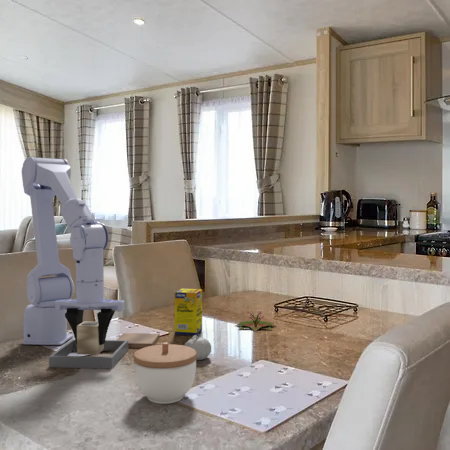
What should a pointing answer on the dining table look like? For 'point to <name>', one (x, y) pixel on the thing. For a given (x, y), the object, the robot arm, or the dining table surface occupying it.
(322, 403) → the dining table surface
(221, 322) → the dining table surface
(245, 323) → the lily flower
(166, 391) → the lidded jar
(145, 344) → the coaster
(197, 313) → the supplement box
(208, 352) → the garlic
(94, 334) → the box
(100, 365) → the bin
